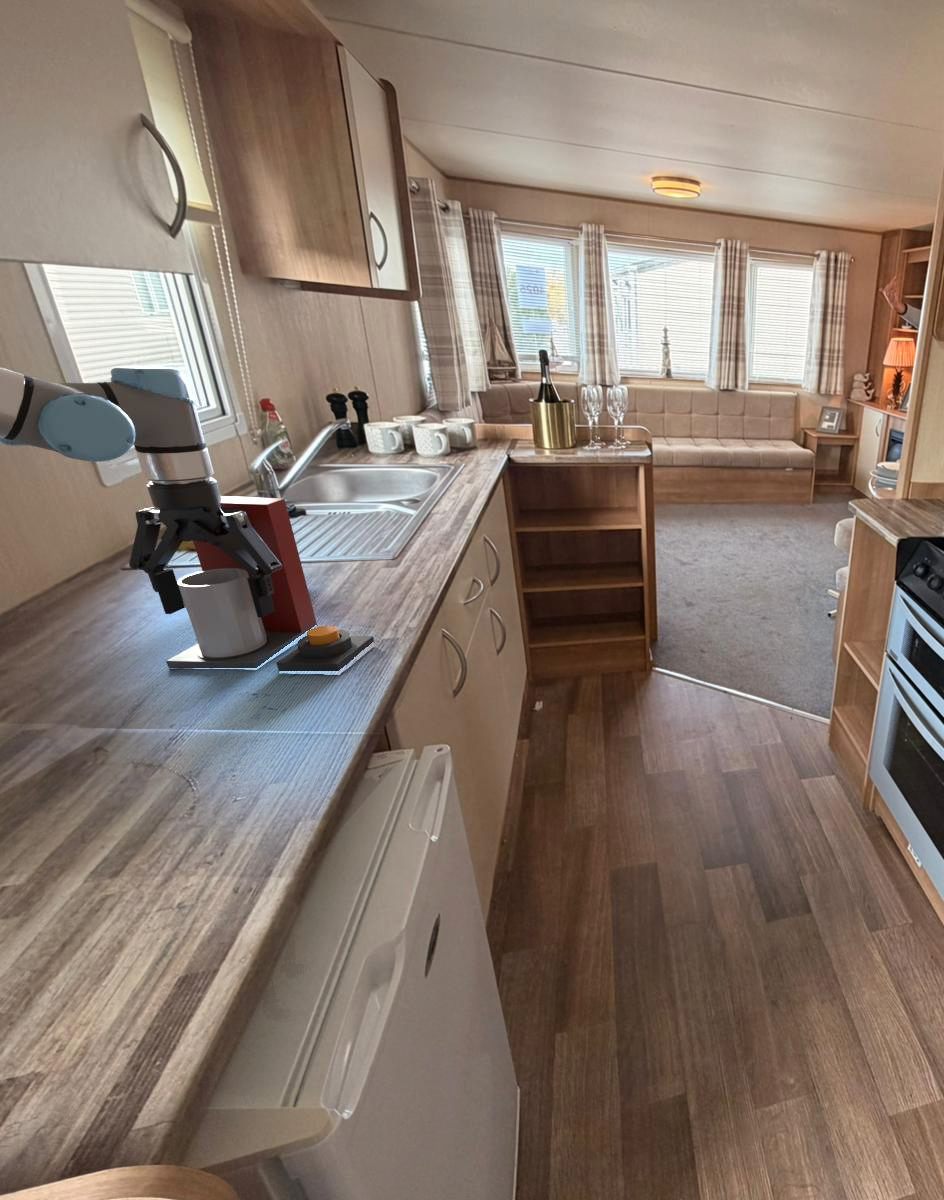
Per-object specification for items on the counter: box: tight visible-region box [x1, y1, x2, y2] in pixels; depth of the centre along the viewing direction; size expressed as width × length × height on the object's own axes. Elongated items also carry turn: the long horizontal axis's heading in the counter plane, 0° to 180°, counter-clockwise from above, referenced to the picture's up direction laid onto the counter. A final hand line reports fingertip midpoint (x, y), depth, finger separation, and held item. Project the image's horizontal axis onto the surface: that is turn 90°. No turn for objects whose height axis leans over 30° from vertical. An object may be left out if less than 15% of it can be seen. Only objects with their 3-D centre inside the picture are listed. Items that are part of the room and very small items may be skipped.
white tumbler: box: [176, 568, 267, 658], centre depth 101 cm, size 8×8×12 cm
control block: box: [275, 629, 375, 672], centre depth 103 cm, size 10×9×4 cm
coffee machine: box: [165, 495, 318, 669], centre depth 101 cm, size 15×13×24 cm
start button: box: [307, 625, 340, 645], centre depth 102 cm, size 4×4×2 cm
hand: (221, 612), depth 100 cm, fingers open, 13 cm apart
